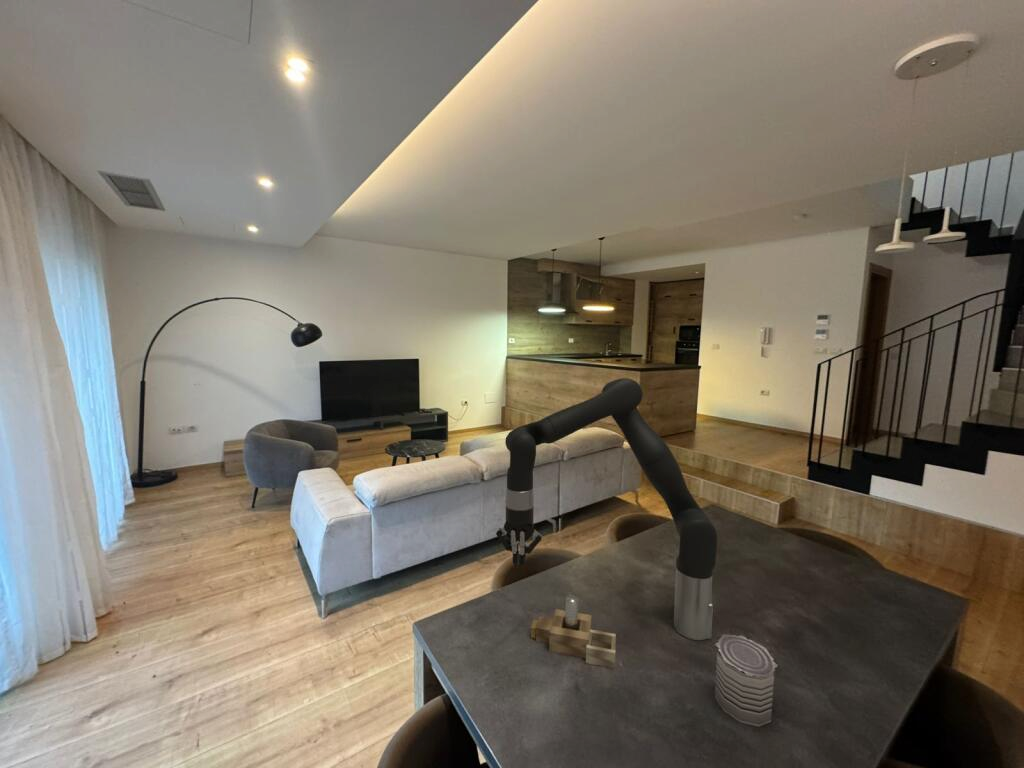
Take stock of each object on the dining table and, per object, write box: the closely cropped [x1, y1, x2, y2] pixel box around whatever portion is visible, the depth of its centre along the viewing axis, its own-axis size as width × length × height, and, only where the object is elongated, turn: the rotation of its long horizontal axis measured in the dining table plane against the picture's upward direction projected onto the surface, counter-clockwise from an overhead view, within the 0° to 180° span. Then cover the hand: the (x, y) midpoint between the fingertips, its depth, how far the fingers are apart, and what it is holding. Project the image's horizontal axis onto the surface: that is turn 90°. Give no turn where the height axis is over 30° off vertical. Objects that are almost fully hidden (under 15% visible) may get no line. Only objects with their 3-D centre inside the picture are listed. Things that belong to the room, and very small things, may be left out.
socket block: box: [535, 608, 593, 659], centre depth 109 cm, size 14×10×5 cm
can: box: [714, 633, 779, 728], centre depth 89 cm, size 11×11×12 cm
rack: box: [585, 628, 617, 669], centre depth 103 cm, size 7×7×4 cm
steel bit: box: [565, 594, 579, 630], centre depth 108 cm, size 3×3×12 cm
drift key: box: [530, 619, 539, 639], centre depth 110 cm, size 8×4×3 cm, turn 75°
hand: (519, 565), depth 111 cm, fingers closed
